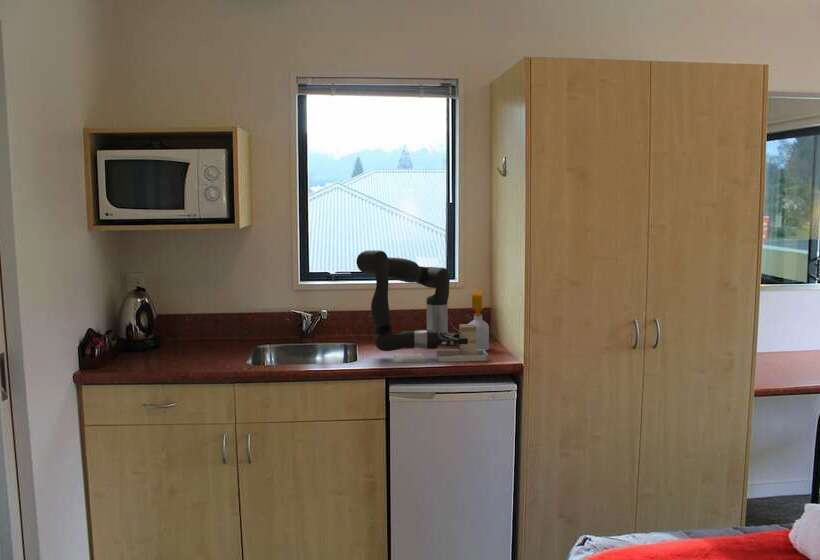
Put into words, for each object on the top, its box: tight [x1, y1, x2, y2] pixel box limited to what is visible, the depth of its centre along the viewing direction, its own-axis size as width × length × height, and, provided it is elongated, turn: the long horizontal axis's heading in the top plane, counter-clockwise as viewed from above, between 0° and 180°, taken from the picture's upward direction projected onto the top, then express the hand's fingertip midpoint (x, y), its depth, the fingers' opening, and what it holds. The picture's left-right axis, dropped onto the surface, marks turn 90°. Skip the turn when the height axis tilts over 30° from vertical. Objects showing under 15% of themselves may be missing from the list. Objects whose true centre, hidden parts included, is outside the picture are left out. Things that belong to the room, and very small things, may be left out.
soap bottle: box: [468, 290, 490, 352], centre depth 268 cm, size 9×9×25 cm
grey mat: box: [394, 353, 427, 363], centre depth 254 cm, size 12×12×1 cm
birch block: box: [458, 323, 476, 355], centre depth 254 cm, size 5×6×13 cm
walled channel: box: [436, 348, 490, 362], centre depth 255 cm, size 11×20×2 cm, turn 92°
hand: (466, 338), depth 254 cm, fingers open, 8 cm apart
